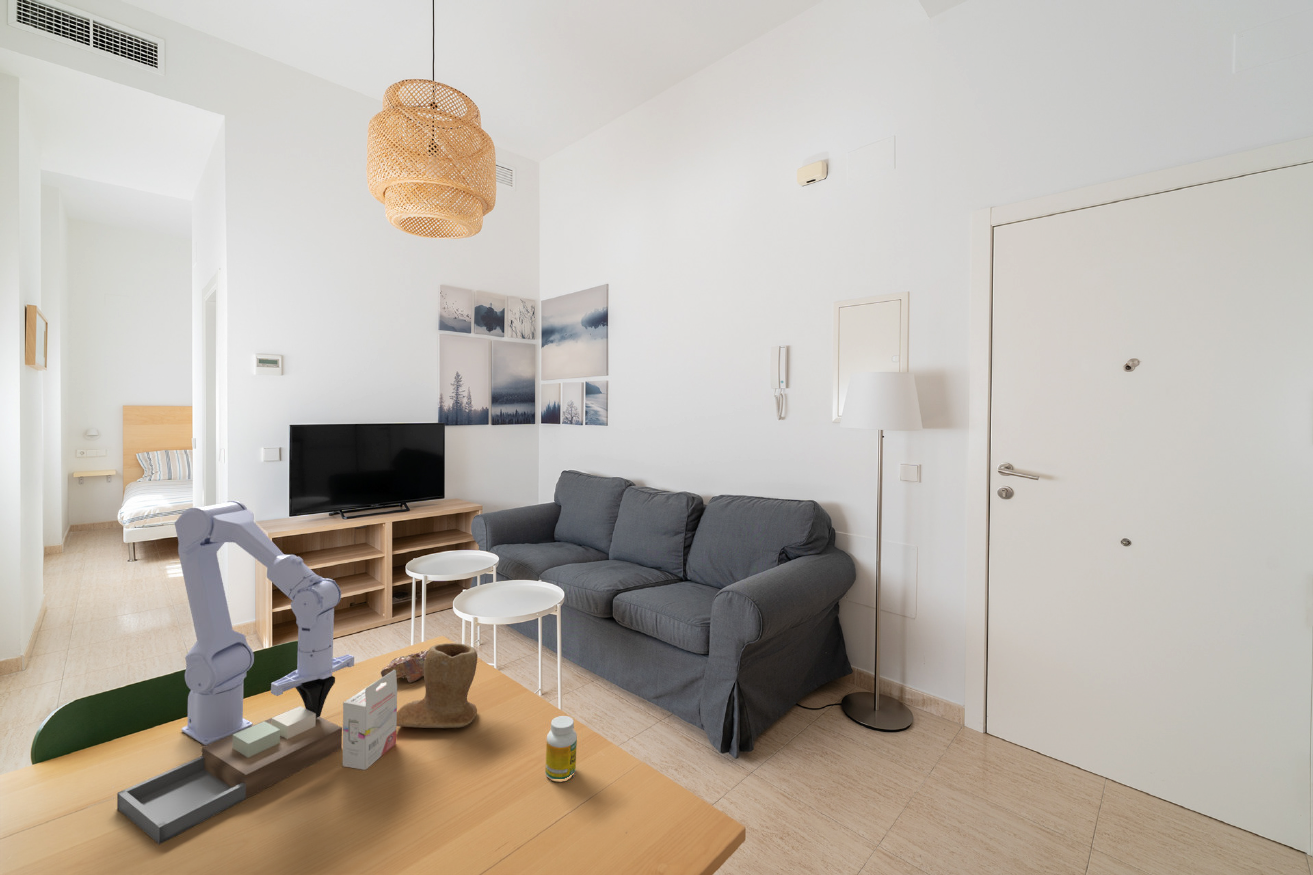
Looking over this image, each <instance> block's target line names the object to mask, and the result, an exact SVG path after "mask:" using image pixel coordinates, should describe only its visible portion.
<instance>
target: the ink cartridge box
mask: <svg viewBox="0 0 1313 875" xmlns="http://www.w3.org/2000/svg"><path fill="white" fill-rule="evenodd" d="M342 705H343V706H342V710H343V711H342V767H346V768H352V769H356V770H357V769H358V770H363V771H365V770H367V769H369V768H370V767H371V765H373V764H374V763H375V762H377V760H379V759H381V757H382V756H384V755H385V753H387V752H388V751H389V750H390V749H391V748H393V747H394V746H395V745H396V744H397V726H396V723H397V711H398V710H397V709H398V682H397V677H396V670H393V671H392V672H390V673H389V674H387V675H385V676H384V677H382V676H381V677H380V678H379V679H377V680H376V681H374V682H372V683H371V684H370V685H368V686H366V687H365V688H363V689H362V690H360V691H359V692H358V693H356V694H354V695H353V696H351V697H350V698H348V699H346V700H345V701H343V702H342Z"/></svg>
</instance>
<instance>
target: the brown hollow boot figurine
mask: <svg viewBox="0 0 1313 875" xmlns="http://www.w3.org/2000/svg"><path fill="white" fill-rule="evenodd" d="M477 663H478V653H477V650H476V649H475V648H474V647H472V646H471V645H468V644H465V643H450V642H449V643H448V642H447V643H440V644H438V643H437V644H435V645H433V646H432V645H431V647H430V648H429V649H428V652H427V654H426V656H425V661H424V675H423V681H424V687H425V694H424V695H425V696H424V697H423V699H419V700H413V701H411V702H408V703H407V702H406V704H404V705H403V706H401V707H400V708H399V709H398V710H397V723H396V727H404V728H405V727H406V728H424V729H425V728H427V729H451V728H452V729H457V728H463V727H466V726H468V725H470V724H471V723H472V722H473V721H474V719H475V718H476V716H477V713H478V708H477V706H476V704H474V703H472V702H470V701H468V695H469V691H470V689H471V686H472V683H473V681H474V678H475V675H476V671H477V670H476V669H477V665H478V664H477Z"/></svg>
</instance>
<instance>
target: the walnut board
mask: <svg viewBox="0 0 1313 875" xmlns="http://www.w3.org/2000/svg"><path fill="white" fill-rule="evenodd" d="M299 706H300V705H299ZM299 706H296V707H295V708H297V707H299ZM292 709H293V708H291V709H290V710H292ZM285 712H286V711H285ZM285 712H283V713H285ZM280 714H281V713H280ZM280 714H278V715H280ZM278 715H276V716H278ZM273 717H274V716H273ZM273 717H270V718H268V719H266V720H263V721H262V722H264V721H265V722H267V723H269V724H271V725H272V718H273ZM259 723H260V722H259ZM259 723H256V724H255V725H257V724H259ZM252 726H253V725H252ZM252 726H251V727H252ZM248 728H250V727H248ZM244 730H245V729H244ZM241 731H243V730H241ZM239 732H240V731H239ZM237 733H238V732H237ZM234 734H236V733H234ZM201 750H202V751H201V756H203V757H204V769H205V770H206V771H208V772H209V773H211V774H212V775H214V776H215V777H217V778H218V779H220V780H221V781H223V782H224V783H226V784H227V785H229V786H230V787H232V788H233V787H235V786H237V785H239V784H241V783H245V784H246V795H245V800H246V799H249V798H250V797H252V796H254V795H256V794H258V793H260V792H261V791H263V790H265V789H267V788H269V787H271V786H273V785H275V784H277V783H279V782H281V781H283V780H284V779H287V778H288V777H290V776H293V775H294V774H296V773H299V772H300V771H301V770H303V769H306V768H307V767H309V766H311V765H312V764H313V765H314V763H317V762H319V761H321V760H323V759H325V758H326V757H328V756H330V755H332V754H334V753H336V752H338V751H339V750H343V726H340V725H337V724H336V723H333V722H331V721H329V720H327V719H325V718H323V717H321V716H320V717H317V718H316V722H315V727H313V728H310V729H308V730H306V731H304V732H302V733H300V734H298V735H295V736H293V737H291V738H289V739H286V738H284V737H282V736H280V743H278V744H276V745H274V746H272V747H270V748H268V749H266V750H263V751H261V752H259V753H257V754H255V755H253V756H251V757H246V756H245V755H243V754H241V753H240V752H238V751H236V750H235V749H233V734H232V735H229V736H227V737H225V738H222V739H220V740H218V741H215V742H213V743H211V744H208V745H204V746H202V748H201Z"/></svg>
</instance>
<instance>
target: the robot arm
mask: <svg viewBox="0 0 1313 875" xmlns="http://www.w3.org/2000/svg"><path fill="white" fill-rule="evenodd" d="M174 526H175V531H176V536H177V540H178V547H177V551H178V552H177V553H178V557H179V562H180V567H181V571H182V576H183V580H184V585H185V590H186V594H187V600H188V603H189V609H190V613H191V617H192V623H193V626H194V627H193V628H194V631H195V635H196V636H195V637H196V641H195V643H194V645H193V646H192V647H191V649H190V650H189V651H188V653H186V655H185V657H184V658H185V663H186V666H185V672H184V681H185V683H186V686H187V687H188V689H189V690H190V691H189V693H188V696H187V725H186V726H183V727H181V732H183V733H185V734H186V735H188V736H190V737H191V738H193V739H195V741H197V742H199V743H201V745H202V744H203V745H204V746H207V745H209V744H211V743H214V742H216V741H218V740H221V739H223V738H225V737H228V736H230V735H232V734H235V733H237V732H239V731H242V730H244V729H247V728H249V727H251V726H254V724H253V723H254V722H252V721H249V720H248V719H246V718H244V717H243V715H244V679H245V678H247V671H249V670H250V669H251V668H252V666H253V664H254V662H255V654H254V651H253V650H252V648H251V646H250V645H249V644H248V642H247V639H246V638H247V637H246V635H245V634H244V633H242V632H238V631H236V630H234V629H233V625H232V621H231V620H232V619H231V616H230V611H229V606H228V601H227V596H226V592H225V587H224V583H223V579H222V573H221V569H220V563H219V558H218V554H217V553H218V551H219V550H220V549H221V547H222V546H223V545H224V544H225V543H234V544H236V545H238V546H239V547H240V548H241V549H242V550H244V551H245V552H246V553H248V554H249V555H250V556H252V557H253V558H254V559H256V560H257V561H258V562H259V563H260V564H262V565H263V566H265V567H266V578H267V579H268V580H269V581H271V583H273V585H274V586H276V587H277V588H278V589H279V590H280V591H281V592H282V593H283V594H284V595H285V596H286V597H288V598H289V599H290V600H291V602H290V608H291V611H292V612H293V614H294V615H295V618H296V622H295V623H296V625H297V627H298V630H297V631H298V632H297V633H298V634H297V665H296V666H297V669H295V670H293V671H292V672H290V673H288V674H287V675H284V676H283V677H281V678H280V679H277V680H275V681H273V682H271V683H270V684H271V685H270V694H272V695H273V696H276V697H278V696H281V695H283V694H284V692H287V691H289V690H293V689H294V688H295V690H296V691H297V692H298V694H299V695H300V697H301V699H302V701H303V704H304V708H305V709H307V710H309V711H311V712H313V713H316V718H317V717H321V714H322V712H323V708H324V705H325V703H326V700H327V697H328V695H329V693H330V691H331V689H332V688H333V686H334V685H335V684H336V677H335V676H334V675H333V673H335V672H338V671H340V670H342V669H346V668H352V667H354V666H355V656H354V655H351V654H350V653H348V654H345V655H342V656H337V657H333V656H334V655H333V654H334V628H335V627H334V626H335V625H334V624H335V622H334V620H335V606H336V607H337V605H338V604H339V603H340V601H341V599H342V590H341V588H340V586H339V585H338V584H337V582H336V580H333V579H332V578H324V577H323V576H320V575H318V574H316V573H315V572H314V571H313V570H312V569H311V568H310V567H309V566H308V565H306V564H305V562H304V559H303V558H302V557H301V556H297V555H295V554H284V553H283V552H282V550H280V548H279V547H278V546H277V545H276V544H275V543H274V542H273V541H272V540H271V539H270V538H269V536H268V535H267V534H266V533H265V532H264V530H262V529H261V528H260V527H259V525H257V523H255V521H254V513H253V512H252V511H251V510H249V509H248V508H247V507H246V505H245V504H244V503H242V502H241V501H238V500H229V501H227V502H222V503H216V504H210V505H209V504H208V505H204V506H193V507H189V508H187V509H185V510H184V511H183V512H182V513H181V514H180V515H179V516H178V518H177V520H176V521H175V522H174Z"/></svg>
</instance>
